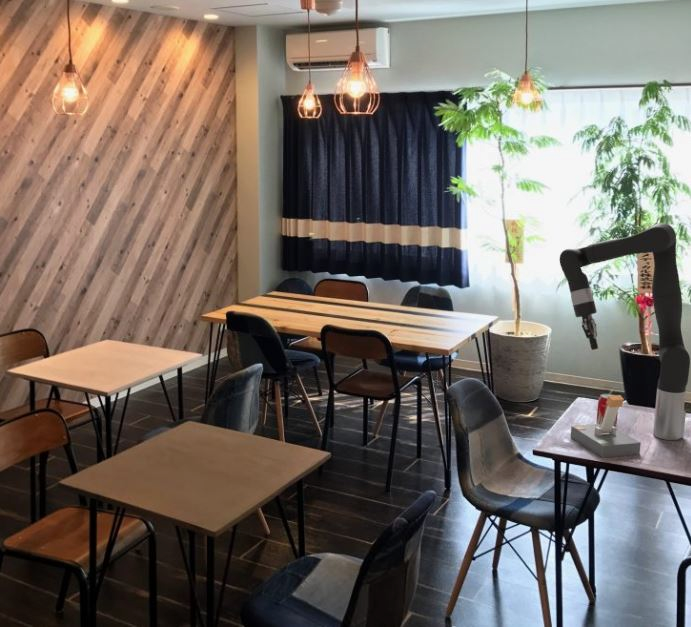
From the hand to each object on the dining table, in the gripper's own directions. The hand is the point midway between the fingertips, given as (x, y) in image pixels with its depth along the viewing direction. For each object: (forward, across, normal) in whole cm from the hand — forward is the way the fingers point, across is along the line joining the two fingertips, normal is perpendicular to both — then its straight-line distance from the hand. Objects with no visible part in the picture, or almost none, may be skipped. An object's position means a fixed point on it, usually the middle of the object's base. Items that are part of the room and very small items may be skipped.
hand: (595, 349), depth 289 cm
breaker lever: (+28, -14, +1) cm, 31 cm away
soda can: (+29, +6, +4) cm, 30 cm away
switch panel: (+32, -13, +2) cm, 35 cm away
